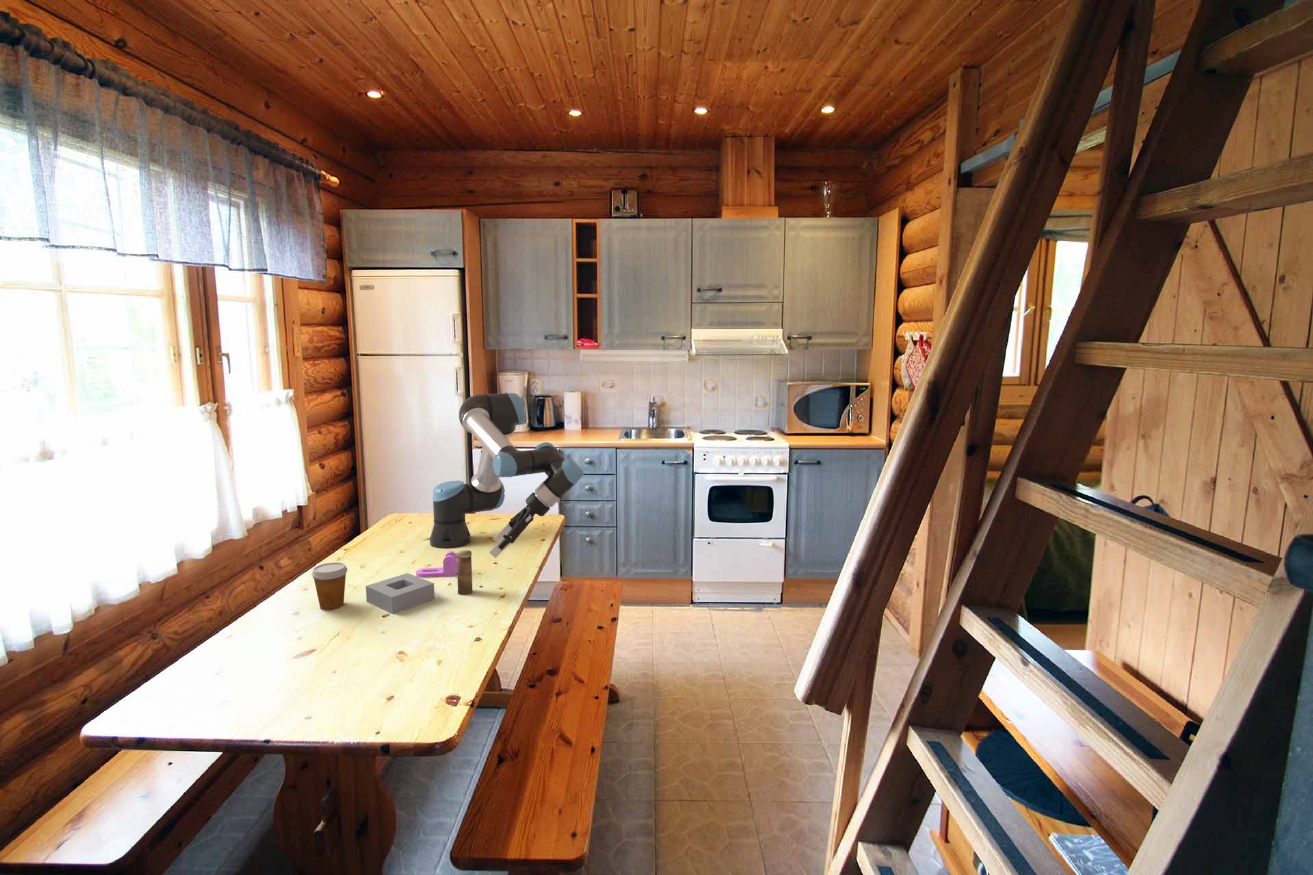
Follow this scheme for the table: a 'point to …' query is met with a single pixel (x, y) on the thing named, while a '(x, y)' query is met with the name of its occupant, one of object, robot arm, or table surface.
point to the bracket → (441, 568)
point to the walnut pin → (464, 572)
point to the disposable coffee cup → (330, 584)
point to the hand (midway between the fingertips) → (494, 548)
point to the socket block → (400, 592)
